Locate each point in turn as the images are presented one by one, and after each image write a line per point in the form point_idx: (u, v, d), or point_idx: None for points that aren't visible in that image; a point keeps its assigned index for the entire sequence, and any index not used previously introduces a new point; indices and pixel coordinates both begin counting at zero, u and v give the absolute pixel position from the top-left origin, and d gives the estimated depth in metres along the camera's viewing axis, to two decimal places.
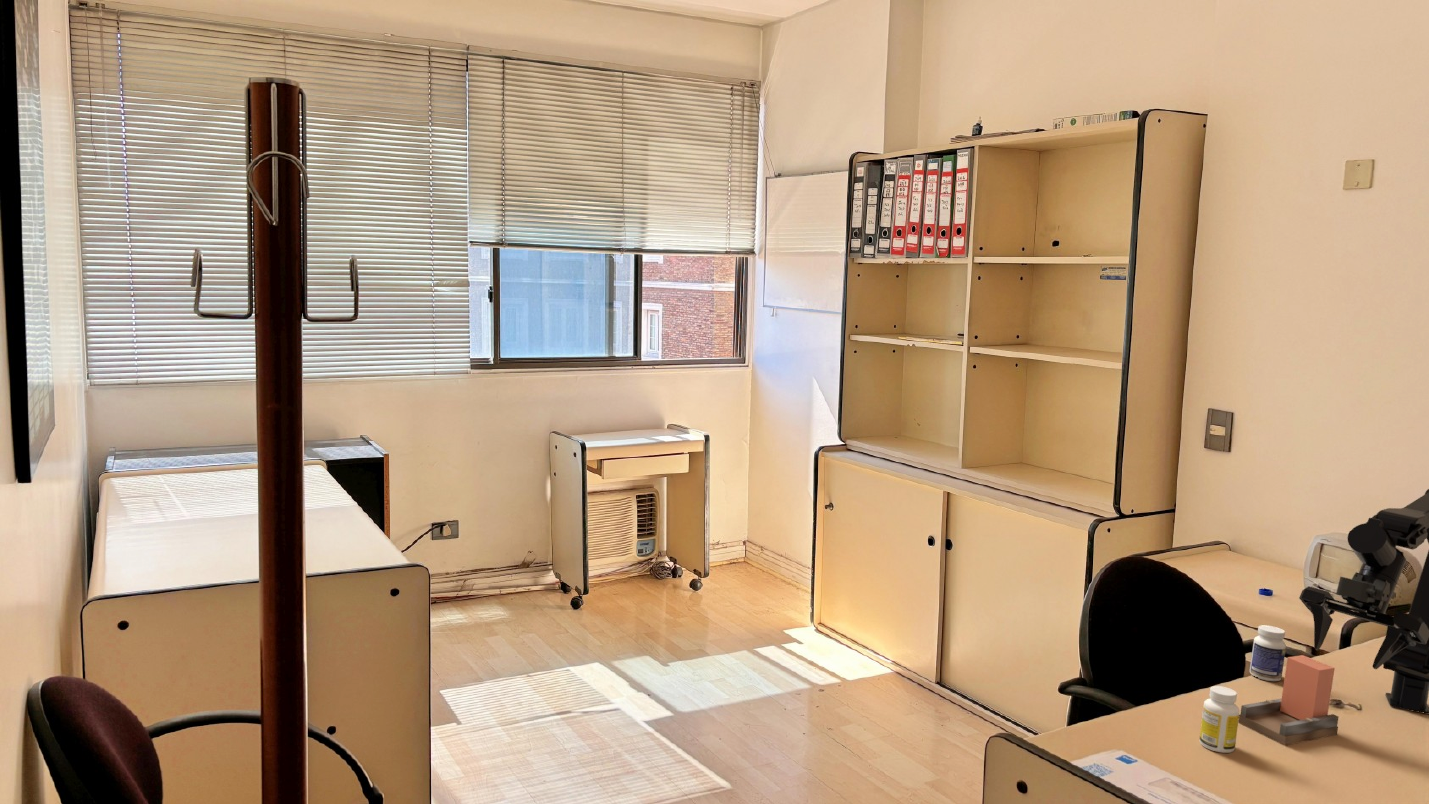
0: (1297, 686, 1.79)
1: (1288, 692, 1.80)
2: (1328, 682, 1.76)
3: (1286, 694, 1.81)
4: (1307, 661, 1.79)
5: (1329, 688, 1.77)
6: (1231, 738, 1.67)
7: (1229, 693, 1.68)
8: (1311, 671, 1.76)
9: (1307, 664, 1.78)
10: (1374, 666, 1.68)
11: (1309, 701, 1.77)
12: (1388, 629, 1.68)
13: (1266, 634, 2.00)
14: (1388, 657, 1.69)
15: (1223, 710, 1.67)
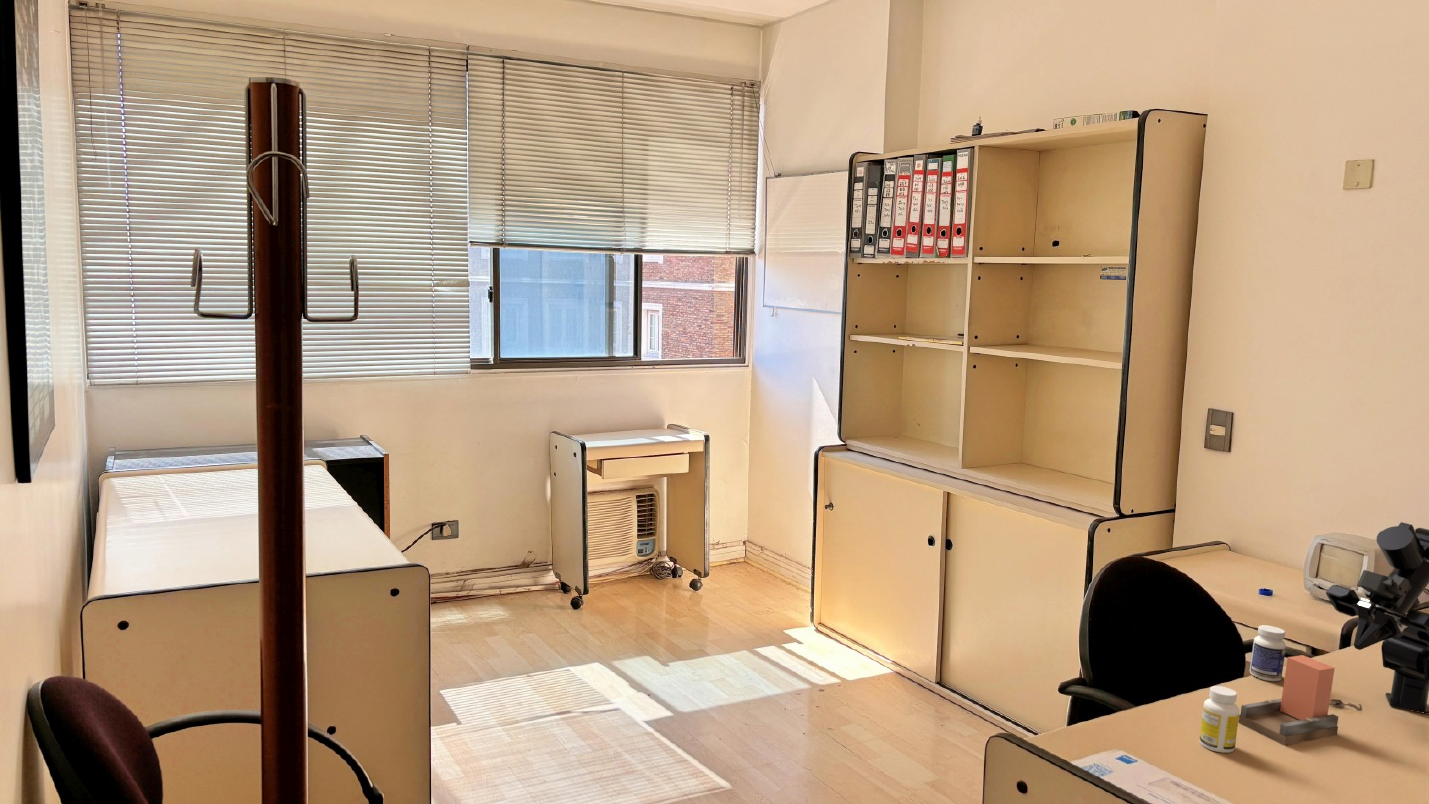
0: (1297, 686, 1.79)
1: (1288, 692, 1.80)
2: (1328, 682, 1.76)
3: (1286, 694, 1.81)
4: (1307, 661, 1.79)
5: (1329, 688, 1.77)
6: (1231, 738, 1.67)
7: (1229, 693, 1.68)
8: (1311, 671, 1.76)
9: (1307, 664, 1.78)
10: (1357, 646, 1.83)
11: (1309, 701, 1.77)
12: (1376, 614, 1.83)
13: (1266, 634, 2.00)
14: (1373, 641, 1.83)
15: (1223, 710, 1.67)
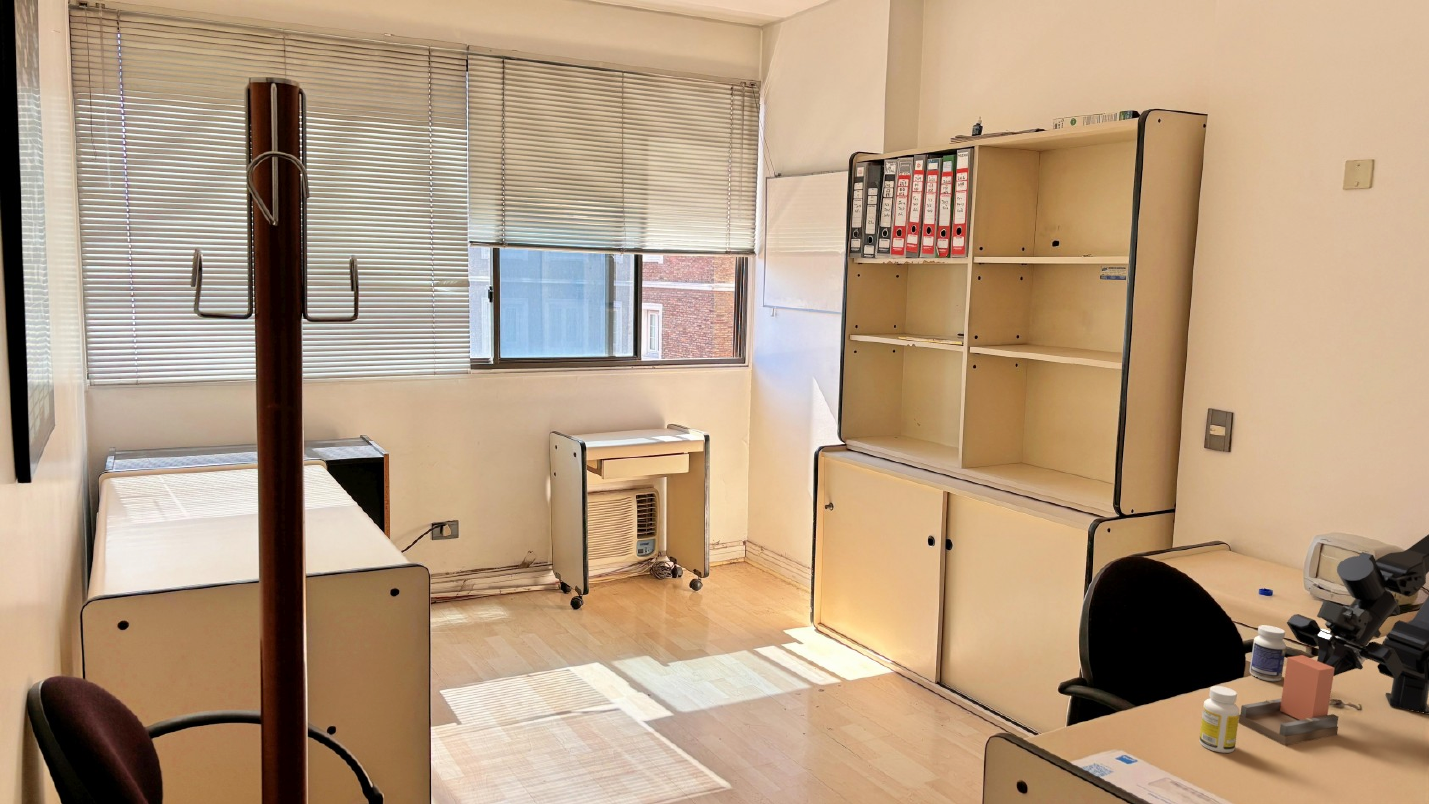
0: (1297, 686, 1.79)
1: (1288, 692, 1.80)
2: (1328, 682, 1.76)
3: (1286, 694, 1.81)
4: (1307, 661, 1.79)
5: (1329, 688, 1.77)
6: (1231, 738, 1.67)
7: (1229, 693, 1.68)
8: (1311, 671, 1.76)
9: (1307, 664, 1.78)
10: None
11: (1309, 701, 1.77)
12: (1336, 646, 1.79)
13: (1266, 634, 2.00)
14: None
15: (1223, 710, 1.67)
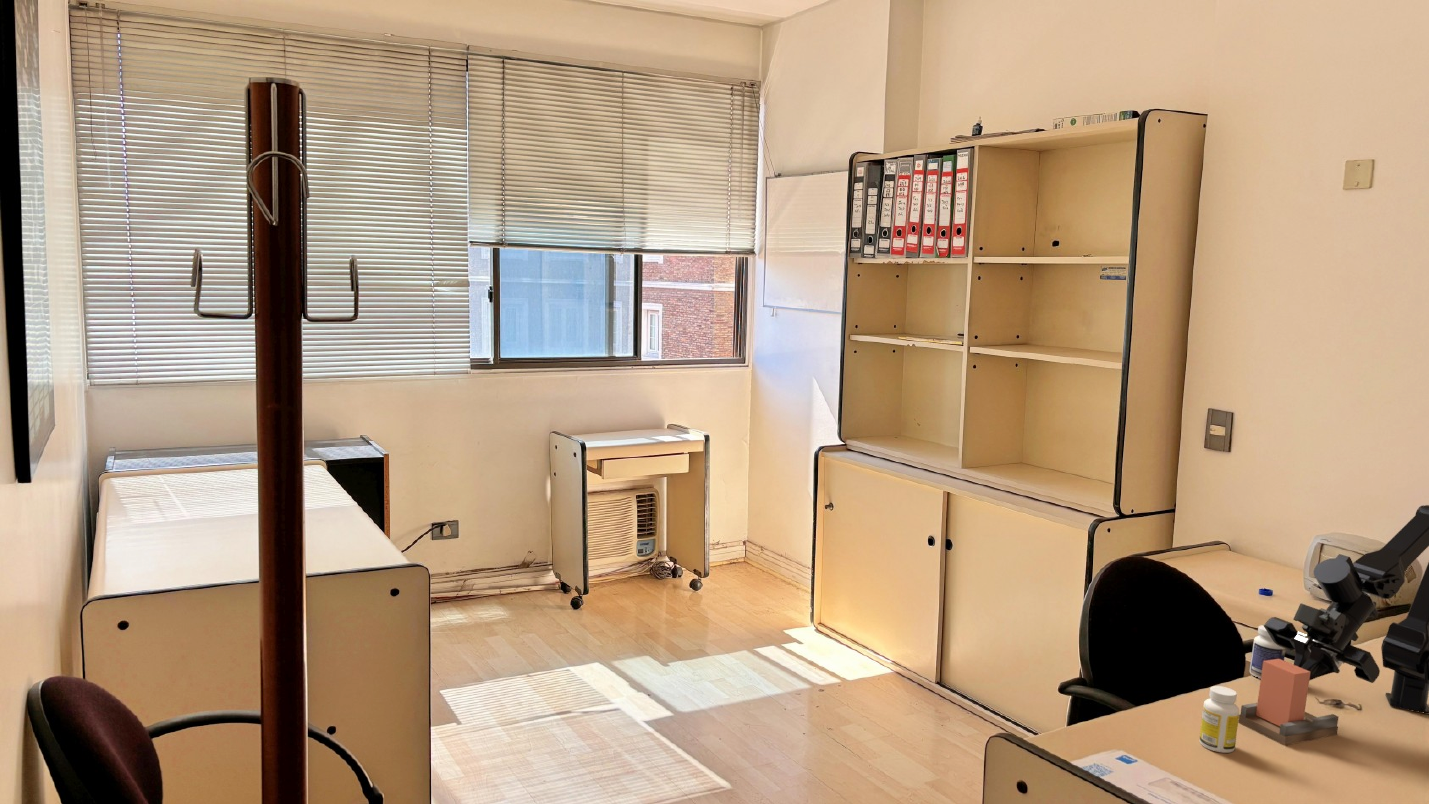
0: (1273, 690, 1.76)
1: (1264, 696, 1.78)
2: (1304, 686, 1.74)
3: (1262, 698, 1.78)
4: (1283, 665, 1.76)
5: (1305, 692, 1.74)
6: (1231, 738, 1.67)
7: (1229, 693, 1.68)
8: (1287, 675, 1.74)
9: (1283, 668, 1.75)
10: None
11: (1285, 706, 1.74)
12: (1312, 649, 1.77)
13: (1266, 634, 2.00)
14: None
15: (1223, 710, 1.67)
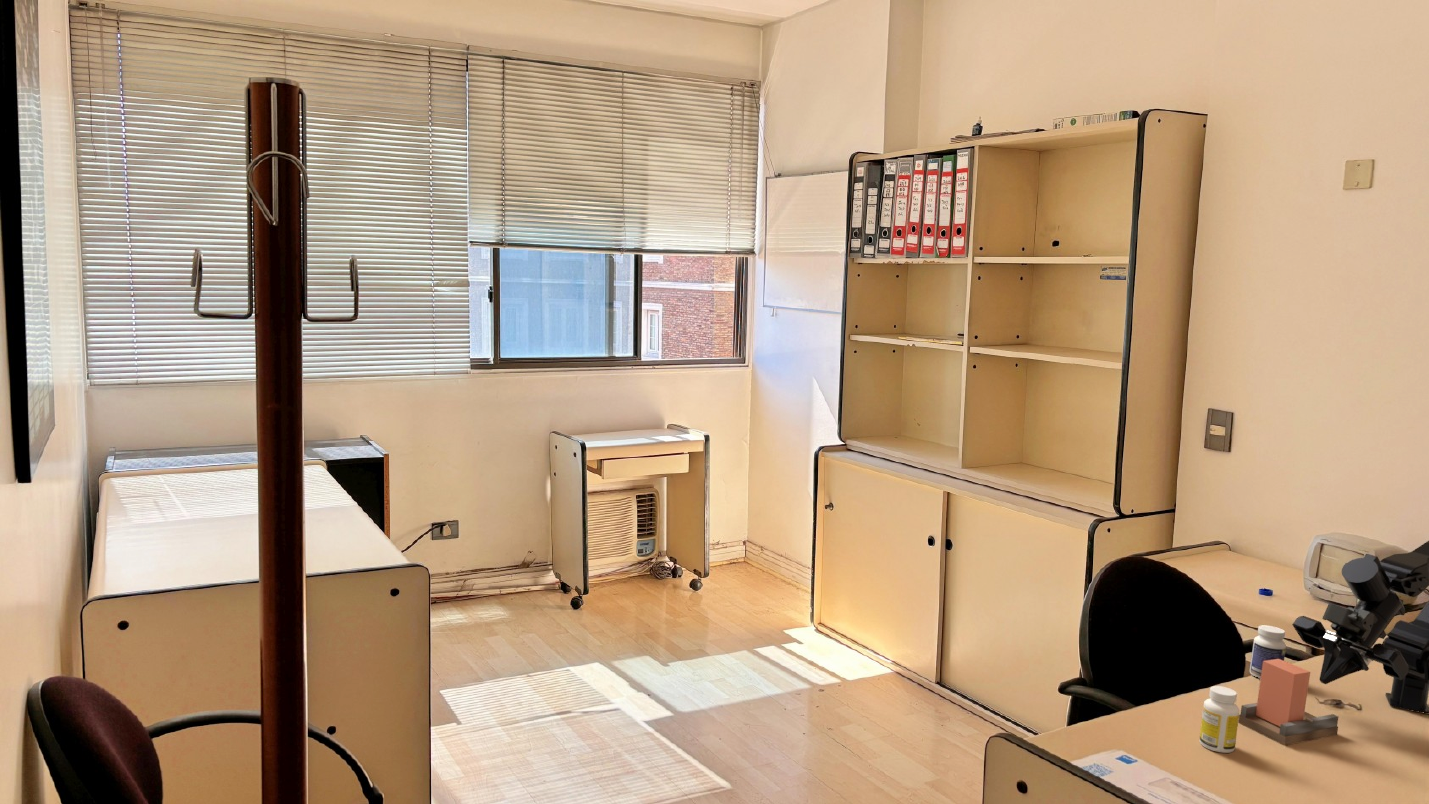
0: (1272, 690, 1.76)
1: (1264, 696, 1.78)
2: (1304, 686, 1.74)
3: (1262, 698, 1.78)
4: (1283, 665, 1.76)
5: (1305, 692, 1.74)
6: (1231, 738, 1.67)
7: (1229, 693, 1.68)
8: (1286, 675, 1.74)
9: (1282, 668, 1.75)
10: (1323, 680, 1.80)
11: (1285, 706, 1.74)
12: (1341, 648, 1.80)
13: (1266, 634, 2.00)
14: (1339, 675, 1.80)
15: (1223, 710, 1.67)
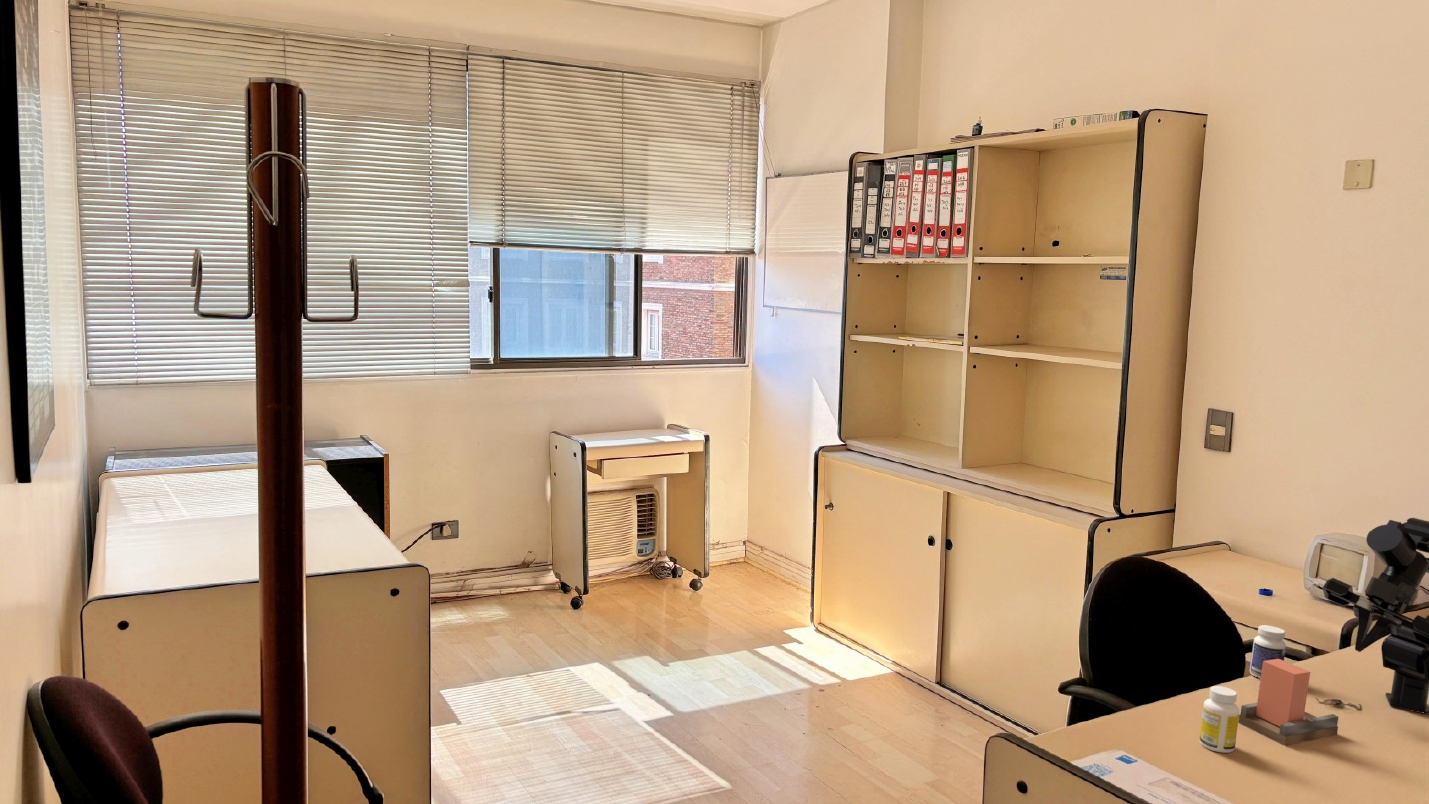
0: (1272, 690, 1.76)
1: (1264, 696, 1.78)
2: (1304, 686, 1.74)
3: (1262, 698, 1.78)
4: (1283, 665, 1.76)
5: (1305, 692, 1.74)
6: (1231, 738, 1.67)
7: (1229, 693, 1.68)
8: (1286, 675, 1.74)
9: (1282, 668, 1.75)
10: (1359, 649, 1.83)
11: (1285, 706, 1.74)
12: (1379, 618, 1.82)
13: (1266, 634, 2.00)
14: (1372, 642, 1.84)
15: (1223, 710, 1.67)
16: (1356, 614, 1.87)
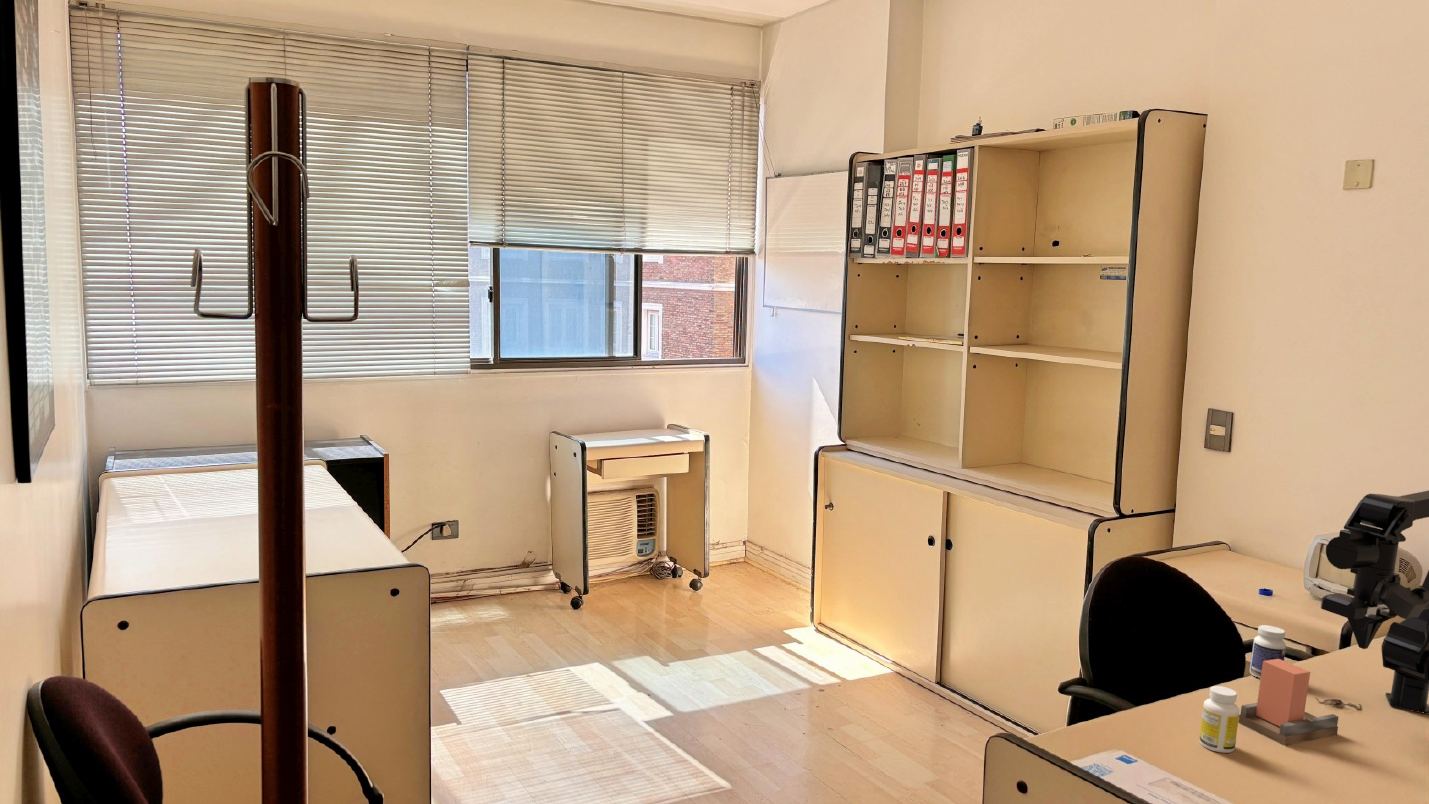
0: (1272, 690, 1.76)
1: (1264, 696, 1.78)
2: (1304, 686, 1.74)
3: (1262, 698, 1.78)
4: (1283, 665, 1.76)
5: (1305, 692, 1.74)
6: (1231, 738, 1.67)
7: (1229, 693, 1.68)
8: (1286, 675, 1.74)
9: (1282, 668, 1.75)
10: (1366, 648, 1.84)
11: (1285, 706, 1.74)
12: (1385, 618, 1.81)
13: (1266, 634, 2.00)
14: None
15: (1223, 710, 1.67)
16: None
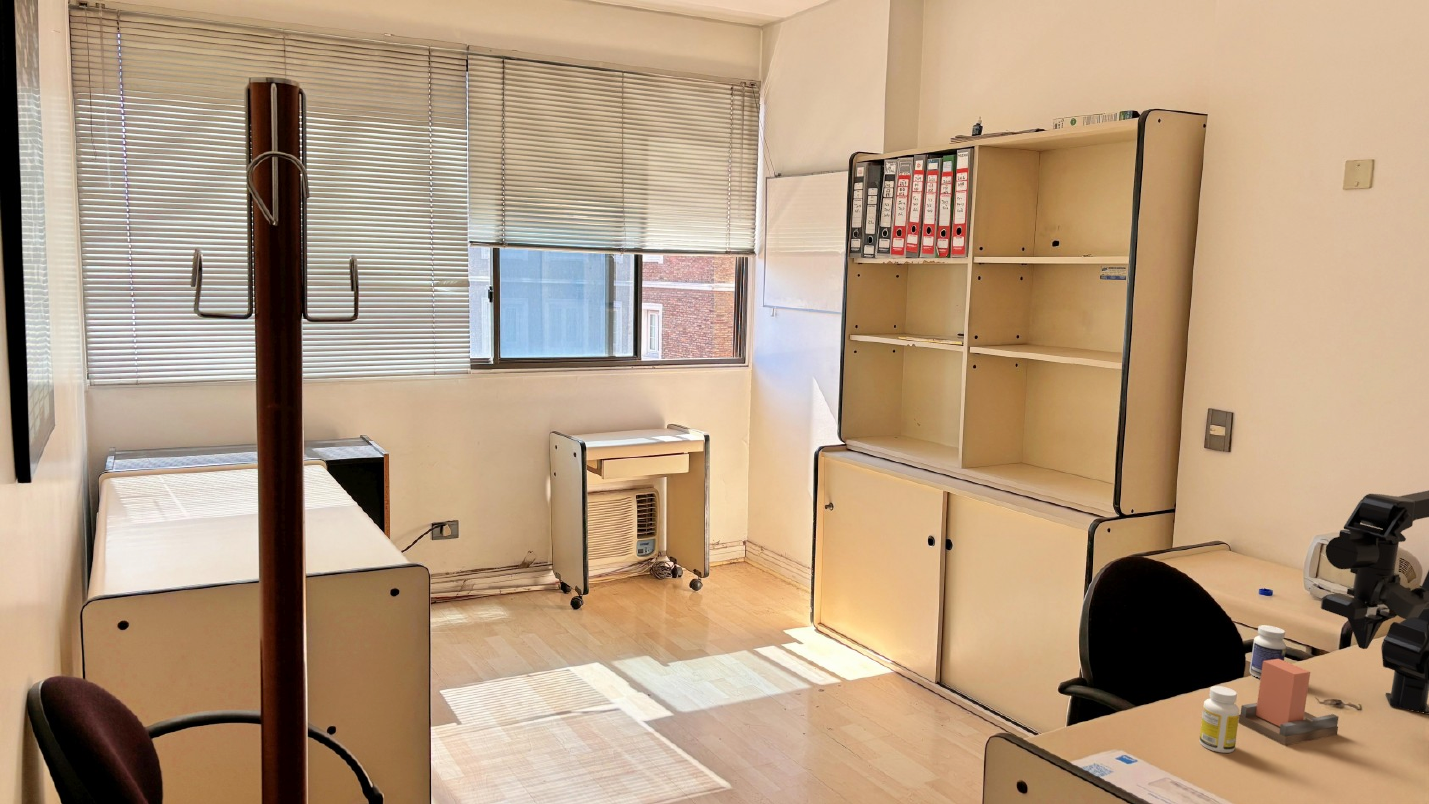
0: (1272, 690, 1.76)
1: (1264, 696, 1.78)
2: (1304, 686, 1.74)
3: (1262, 698, 1.78)
4: (1283, 665, 1.76)
5: (1305, 692, 1.74)
6: (1231, 738, 1.67)
7: (1229, 693, 1.68)
8: (1286, 675, 1.74)
9: (1282, 668, 1.75)
10: (1366, 648, 1.84)
11: (1285, 706, 1.74)
12: (1385, 618, 1.81)
13: (1266, 634, 2.00)
14: None
15: (1223, 710, 1.67)
16: None
